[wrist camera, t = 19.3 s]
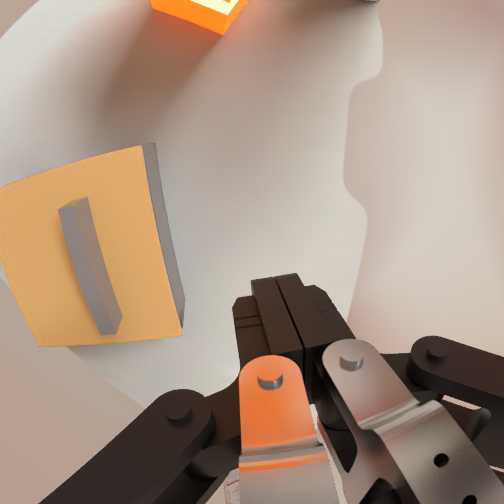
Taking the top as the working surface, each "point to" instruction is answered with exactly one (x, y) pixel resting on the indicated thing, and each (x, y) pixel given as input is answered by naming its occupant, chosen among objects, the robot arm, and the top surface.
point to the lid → (87, 253)
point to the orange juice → (203, 11)
